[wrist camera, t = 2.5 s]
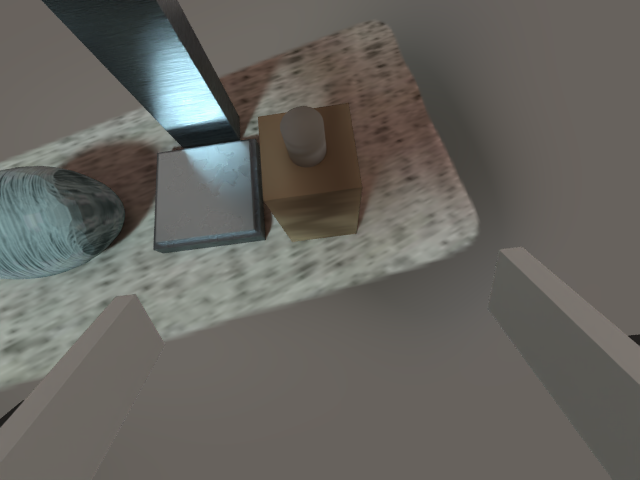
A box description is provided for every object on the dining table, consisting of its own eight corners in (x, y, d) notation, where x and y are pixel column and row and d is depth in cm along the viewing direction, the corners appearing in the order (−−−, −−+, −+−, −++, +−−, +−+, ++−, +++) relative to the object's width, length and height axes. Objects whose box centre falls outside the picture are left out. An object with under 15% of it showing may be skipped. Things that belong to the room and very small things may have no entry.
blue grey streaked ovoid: (124, 152, 28) (-17, 147, 18) (157, 248, 30) (45, 288, 20) (29, 181, 32) (-126, 190, 22) (63, 264, 34) (-67, 304, 24)
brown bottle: (292, 241, 27) (250, 182, 15) (287, 183, 29) (245, 88, 17) (356, 233, 27) (364, 166, 15) (347, 175, 29) (348, 72, 17)
